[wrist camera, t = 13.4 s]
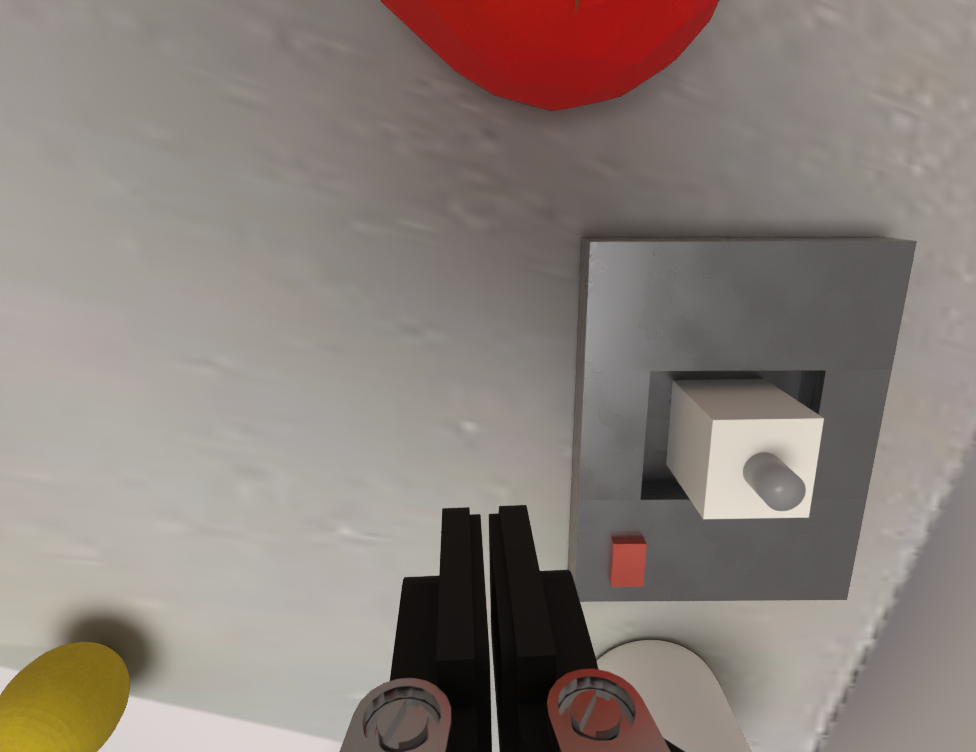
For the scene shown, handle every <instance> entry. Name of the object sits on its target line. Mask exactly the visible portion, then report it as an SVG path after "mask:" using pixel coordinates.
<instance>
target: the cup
mask: <svg viewBox="0 0 976 752" xmlns="http://www.w3.org/2000/svg"><path fill="white" fill-rule="evenodd" d="M597 665H598V668H599V670H604V671H609V672H611V673H613V674H615V675H617V676H620V677H622V678H623V679H625V680H626V681H627V682H628V683H630V684H631V685H632V686H633V687H634V688H635V689H636V690H637V692H638V693H639V694H640V696H641V697H642V699H643V701H644V702H645V704H646V706H647V708H648V710H649V712H650V714H651V716H652V717H653V719H654V721H655V723H656V725H657V727H658V729H659V731H660V733H661V734H662V736H663V738H664V739H666V740H668V741H669V742H671V743H672V744H674V745H675V746H677V747H679V748H680V749H682V750H683V751H685V752H752V751H751V749H750V747H749V745H748V743H747V741H746V739H745V737H744V735H743V733H742V731H741V729H740V726H739V724H738V722H737V720H736V718H735V716H734V714H733V712H732V710H731V708H730V706H729V704H728V701H727V699H726V697H725V695H724V693H723V691H722V689H721V687H720V685H719V683H718V681H717V680H716V678H715V676H714V674H713V673H712V671H711V670H710V669H709V667H708V666H707V665H706V663H705V662H704V661H703V660H702V659H700V658H699V657H698V656H697V655H696V654H694V653H693V652H691V651H690V650H688V649H686V648H684V647H682V646H679V645H677V644H674V643H671V642H666V641H661V640H640V641H634V642H630V643H626V644H623V645H621V646H618V647H616V648H614V649H612V650H610V651H609V652H607V653H606V654H604V655H603V656H602V657H600V658H599V659H598V660H597Z"/></svg>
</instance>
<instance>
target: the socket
mask: <svg viewBox="0 0 976 752" xmlns="http://www.w3.org/2000/svg"><path fill="white" fill-rule="evenodd" d="M916 242H917V241H911V240H902V239H894V238H885V237H735V238H581V262H580V287H579V311H578V335H577V360H576V384H575V409H574V433H573V457H572V482H571V506H570V531H569V555H568V570H570V571H571V573H572V576H573V579H574V583H575V586H576V590H577V593H578V597H579V600H580V602H589V601H736V600H847V597H848V591H849V586H850V581H851V576H852V571H853V566H854V561H855V555H856V550H857V545H858V540H859V535H860V530H861V525H862V519H863V514H864V509H865V504H866V499H867V494H868V489H869V483H870V478H871V473H872V468H873V463H874V458H875V453H876V447H877V442H878V437H879V432H880V427H881V422H882V417H883V411H884V406H885V401H886V396H887V391H888V386H889V381H890V375H891V370H892V365H893V360H894V355H895V350H896V345H897V339H898V334H899V329H900V324H901V319H902V314H903V309H904V303H905V298H906V293H907V288H908V283H909V278H910V273H911V267H912V262H913V257H914V252H915V247H916ZM718 379H765V380H767V381H768V382H770V383H771V384H773V385H774V386H776V387H777V388H779V389H780V390H782V391H783V392H785V393H786V394H788V395H790V396H791V397H793V398H794V399H796V400H797V401H799V402H800V403H802V404H803V405H805V406H806V407H808V408H809V409H811V410H812V411H814V412H815V413H817V414H818V415H820V416H821V417H823V418H824V422H823V428H822V435H821V441H820V448H819V454H818V461H817V467H816V474H815V480H814V487H813V493H812V500H811V507H810V513H809V518H749V519H703V518H702V517H701V515H700V514H699V512H698V511H697V509H696V508H695V506H694V505H693V503H692V502H691V500H690V499H689V497H688V496H687V494H686V493H685V491H684V490H683V488H682V487H681V485H680V484H679V482H678V481H677V479H676V478H675V477H674V475H673V474H672V472H671V471H670V469H669V468H668V466H667V465H666V462H667V448H668V435H669V422H670V409H671V396H672V383H673V380H718Z"/></svg>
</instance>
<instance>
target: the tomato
mask: <svg viewBox="0 0 976 752" xmlns="http://www.w3.org/2000/svg"><path fill="white" fill-rule="evenodd" d="M381 2H382V3H383V4H384V5H385V6H386V7H387V8H388V9H390V10H391V11H392V12H393V13H394V14H395V15H396V16H397V17H398V18H399V19H400V20H401V21H402V22H403V23H404V24H406V25H407V26H408V27H409V28H410V29H411V30H412V31H413V32H414V33H415V34H416V35H417V36H418V37H419V38H421V39H422V40H423V41H424V42H425V43H426V44H427V45H428V46H429V47H430V48H431V49H432V50H433V51H434V52H435V53H437V54H438V55H439V56H440V57H441V58H442V59H443V60H444V61H445V62H446V63H447V64H448V65H449V66H450V67H452V68H453V69H454V70H455V71H456V72H458V73H459V74H461V75H462V76H464V77H466V78H467V79H469V80H471V81H472V82H474V83H475V84H477V85H479V86H480V87H482V88H484V89H485V90H487V91H488V92H490V93H492V94H493V95H495V96H499V97H502V98H506V99H510V100H513V101H517V102H521V103H524V104H528V105H531V106H535V107H539V108H542V109H546V110H549V111H554V110H561V109H568V108H573V107H578V106H582V105H587V104H592V103H597V102H601V101H605V100H609V99H613V98H616V97H620V96H622V95H624V94H625V93H627V92H629V91H630V90H632V89H633V88H635V87H637V86H638V85H639V84H641V83H642V82H644V81H646V80H647V79H649V78H650V77H652V76H653V75H655V74H657V73H658V72H660V71H661V70H663V69H664V68H666V67H667V66H668V65H669V64H671V63H672V62H673V61H674V60H676V59H677V58H678V57H679V55H680V54H681V53H682V52H683V51H684V50H685V49H686V47H687V46H688V45H689V44H690V43H691V42H692V41H693V39H694V38H695V37H696V36H697V35H698V34H699V33H700V31H701V30H702V29H703V28H704V27H705V26H706V25H707V23H708V22H709V21H710V20H711V17H712V15H713V13H714V11H715V8H716V6H717V4H718V2H719V0H381Z"/></svg>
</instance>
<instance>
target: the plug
mask: <svg viewBox="0 0 976 752" xmlns="http://www.w3.org/2000/svg"><path fill="white" fill-rule="evenodd" d="M823 422H824V418H823V417H821V416H820V415H818V414H817V413H815V412H814V411H812V410H811V409H809V408H808V407H806V406H805V405H803V404H802V403H800V402H799V401H797V400H796V399H794V398H793V397H791V396H790V395H788V394H786V393H785V392H783V391H782V390H780V389H779V388H777V387H776V386H774V385H773V384H771V383H770V382H768V381H767V380H765V379H718V380H673V383H672V396H671V409H670V422H669V435H668V448H667V462H666V465H667V466H668V468H669V469H670V471H671V472H672V474H673V475H674V477H675V478H676V479H677V481H678V482H679V484H680V485H681V487H682V488H683V490H684V491H685V493H686V494H687V496H688V497H689V499H690V500H691V502H692V503H693V505H694V506H695V508H696V509H697V511H698V512H699V514H700V515H701V517H702V518H703V519H749V518H809V513H810V507H811V500H812V493H813V487H814V480H815V474H816V467H817V461H818V454H819V448H820V441H821V435H822V428H823Z"/></svg>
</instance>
